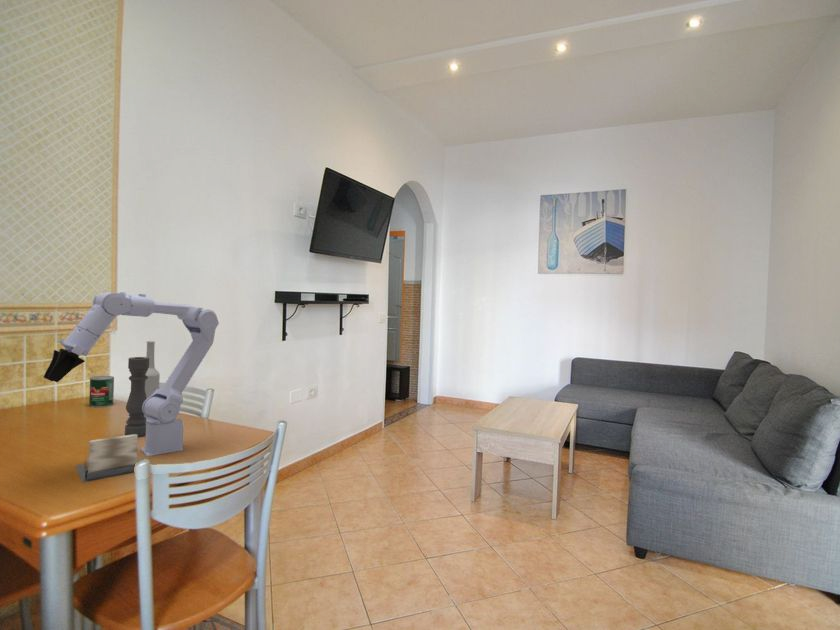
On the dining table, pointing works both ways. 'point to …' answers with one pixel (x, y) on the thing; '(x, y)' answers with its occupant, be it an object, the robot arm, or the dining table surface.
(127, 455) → the beige flat block
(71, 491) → the dining table surface
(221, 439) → the dining table surface
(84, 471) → the rack
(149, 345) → the bottle
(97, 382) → the canned tomato
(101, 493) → the dining table surface
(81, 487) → the dining table surface
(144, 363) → the candle holder
